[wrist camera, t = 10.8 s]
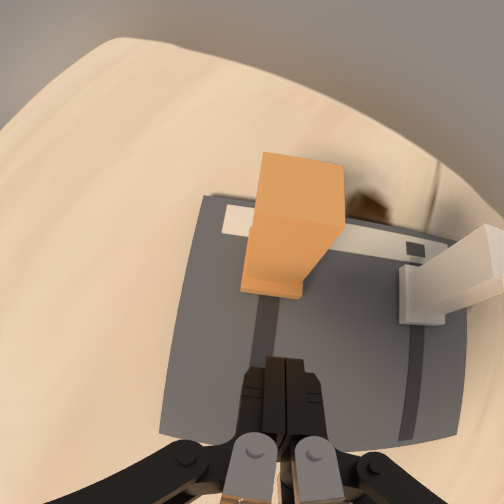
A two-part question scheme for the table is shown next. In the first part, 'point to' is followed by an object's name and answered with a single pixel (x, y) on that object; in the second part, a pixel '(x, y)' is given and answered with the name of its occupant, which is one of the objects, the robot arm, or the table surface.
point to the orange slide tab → (292, 223)
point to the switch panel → (314, 337)
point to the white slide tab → (453, 278)
